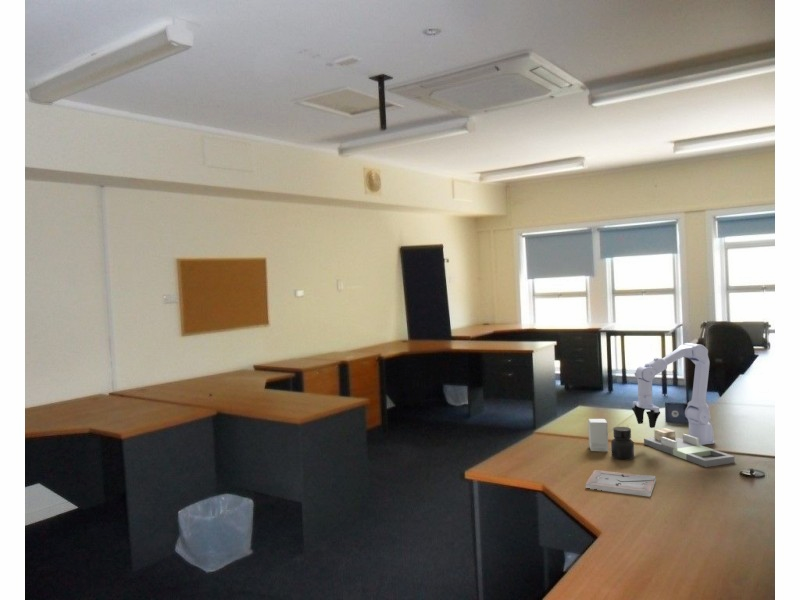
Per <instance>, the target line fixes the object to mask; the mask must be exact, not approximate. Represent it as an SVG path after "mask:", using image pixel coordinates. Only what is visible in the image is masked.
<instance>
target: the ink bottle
mask: <svg viewBox="0 0 800 600" xmlns="http://www.w3.org/2000/svg"><path fill="white" fill-rule="evenodd" d="M612 431H613V439H611V443H610V445H611V448H610V449H611V457H612V458H614V459H615V460H621V461H623V460H624V461H629V460H633V459H634V458H635V443H634V441H633V440H632V439H631V438H632V428H630V427H628V426H615V427H613V429H612Z"/></svg>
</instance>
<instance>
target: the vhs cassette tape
mask: <svg viewBox="0 0 800 600" xmlns="http://www.w3.org/2000/svg"><path fill="white" fill-rule="evenodd" d="M687 406H688V402H673V401H672V402H671V401H665V402H664V412H665V413H664V417H665V418H664V421H665V423H674V424H684V425H689V421H688V418H686V416H685V410H686V408H687Z"/></svg>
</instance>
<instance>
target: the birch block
mask: <svg viewBox="0 0 800 600" xmlns="http://www.w3.org/2000/svg"><path fill="white" fill-rule="evenodd" d="M653 432H654V433H653V434H654V437H655V439H657V440H660V441H661V437H665V438H668V439H671V440H674V441H675V440H676V437H677V436H676V430H673V429H670V428H667V427H666V428H658V429H654V430H653Z"/></svg>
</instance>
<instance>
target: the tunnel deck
mask: <svg viewBox="0 0 800 600" xmlns="http://www.w3.org/2000/svg"><path fill="white" fill-rule="evenodd" d="M675 437H676V440H675V441H674V440H671V439H668V438H665V437H661V441H660V440H657V439H655V436H654V437H653V436H651V437H644V438H643V445H646V446H649V447H650V448H654V449H656V450H659V451H662V452H664V453H667V454H670V455H672V456H675V457H677V458H680V459H683V460H686V461H687V462H691V463H693V464H696V465H698V466H702V467H704V468H709V467H715V466H721V465H727V464H734V463H735V456H734V455H732V454H729V453H725V452H723V451H720V450H717V449H714V448H710V447H708V446H705V445H699V438H696V437H693V436H690V435H689V434H686V433H682V437H681V438H680V437H677V436H675Z"/></svg>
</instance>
